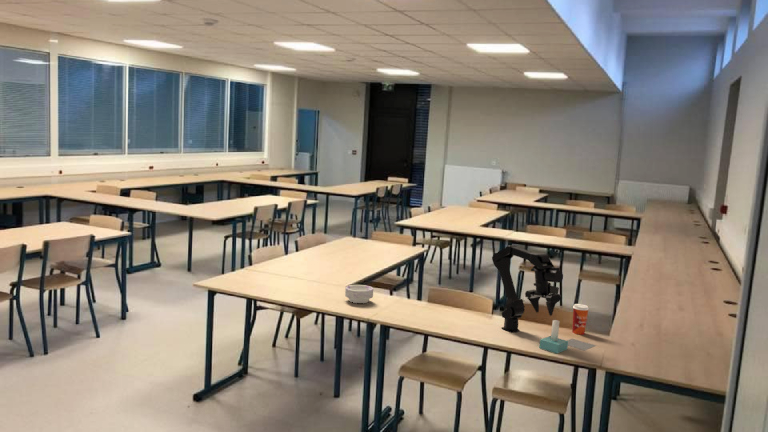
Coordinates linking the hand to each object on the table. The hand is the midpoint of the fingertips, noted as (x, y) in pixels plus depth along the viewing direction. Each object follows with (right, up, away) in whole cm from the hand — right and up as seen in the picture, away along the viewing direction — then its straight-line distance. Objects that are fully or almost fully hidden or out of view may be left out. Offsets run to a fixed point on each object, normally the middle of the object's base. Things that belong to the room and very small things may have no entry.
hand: (544, 313), depth 286 cm
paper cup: (+21, -12, +17) cm, 30 cm away
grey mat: (+15, -14, -2) cm, 21 cm away
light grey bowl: (-88, -1, +49) cm, 101 cm away
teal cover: (+1, -14, -10) cm, 17 cm away
